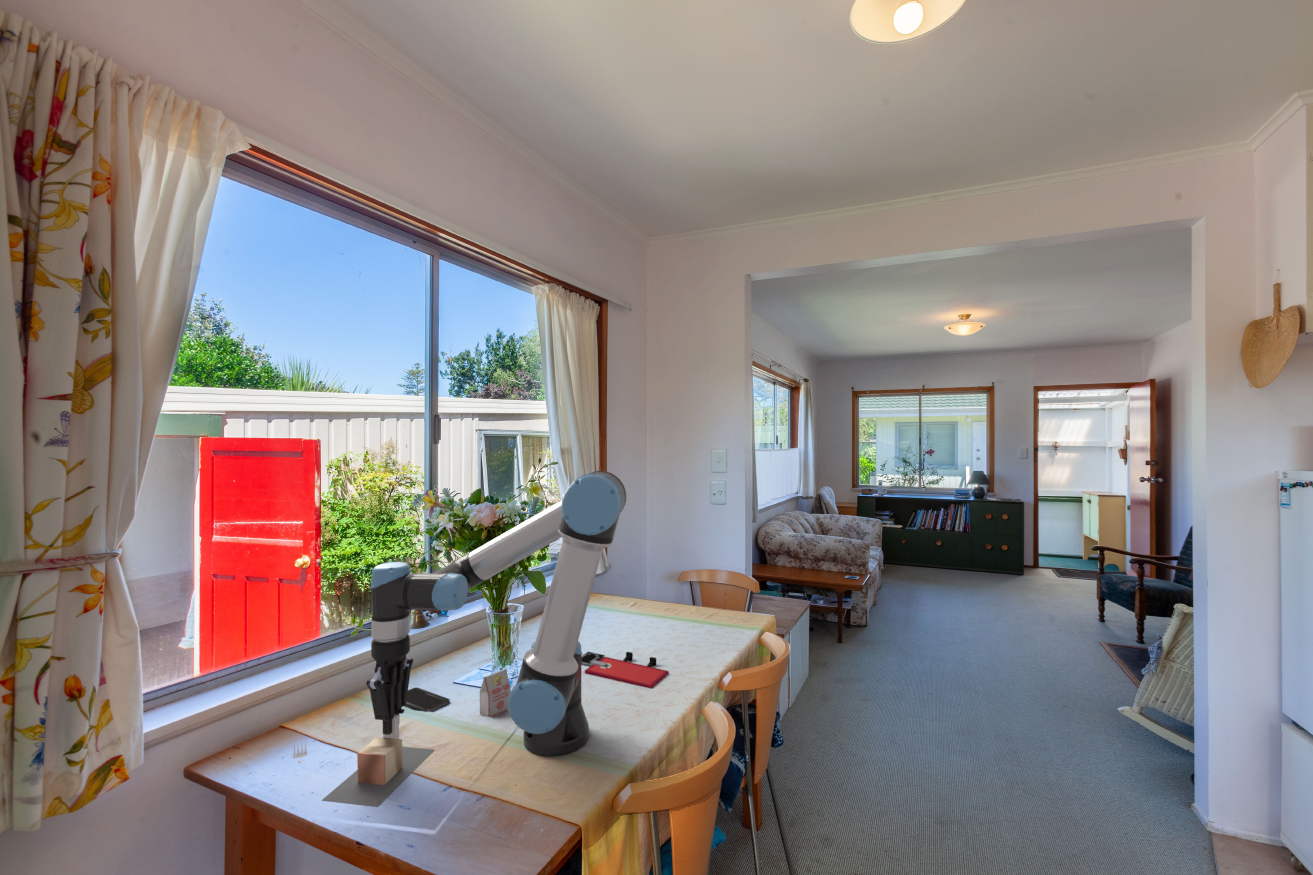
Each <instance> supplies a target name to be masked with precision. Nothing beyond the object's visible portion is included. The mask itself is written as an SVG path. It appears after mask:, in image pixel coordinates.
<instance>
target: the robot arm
mask: <svg viewBox="0 0 1313 875" xmlns="http://www.w3.org/2000/svg"><path fill="white" fill-rule="evenodd" d="M626 502H627V491H626V488H625V485H624V483H623V481H622V480H621V479H620V478H619V477H618V476H617V475H616V474H614V473H611V472H610V471H605V470H596V471H592V472H590V473H586V474H585V473H584V474H582V475H580V476H579V477H577V478H575V479H574V480H573V481H571V483H570V484H569V485H568V486H567V488H566V490H565V491H564V493H563V494H562V497H561V500H559V501H557V502H556V503H553V504H552V505H550V506H548V507H547V508H545V509H543V510H542V511H539V512H538V513H536V514H535V515H532V516H530V517H529V518H528V519H526V520H524V521H522V522H521V523H518V524H517V525H515V526H513V527H512V528H510V529H509V530H507V531H505V532H503V533H502V534H499V535H498V536H496V537H494V538H493V539H491V540H490V541H488V542H485V543H484V544H483V545H481V546H479V547H477V548H475V549H474V550H471V551H470V552H469V553H467V554H465V555H463V556H462V557H460V558H457V559H455V560H454V561H451V563H449V564H448V565H446V566H444V567H442V568H441V569H439V570H437V571H435V572H433V573H414V572H411V567H410V564H408V563H407V562H403V561H390V562H384V563H380V564H378V565H376V566H374V568H373V569H372V570H371V579H370V580H371V581H370V586H369V589H370V595H371V596H370V598H371V599H370V604H371V606H370V607H371V615H370V616H371V631H370V632H371V633H370V634H371V638H372V640H371V641H370V645H371V646H370V649H371V650H370V655H371V658H372V659H373V660H374V661H375V667H374V673H375V674H374V676H372V678H371V679H367V681H366V683H365V684H366V687H367V688H368V690H369V692H370V699H371V705H372V711H373V715H374V719H375V720H378V721H382V735H383V736H382V738H391V739H400V714H404V713H405V709H404V708H403V707H405V705H406V702H407V694H408V690H409V684H410V677H411V669H412V666H413V663H414V658H410V657H407V655H408V654H409V653H410V650H411V636H410V632H411V616H410V615H411V613H410V612H411V611H410V610H412V611H413V610H415V611H416V610H420V611H440V612H441V611H442V612H447V611H455V610H456V611H457V610H459V609H461V608H463V607H464V605H465V602H466V601H467V599H468V598H467V597H468V592H469V591H470V590H471V589H473V588H475V587H477V586H478V585H480V584H483V582H485V581H487V580H488V579H491V578H492V577H494V576H495V575H497V574H499V573H501V572H503V571H504V570H506V569H508V568H509V567H512V566H513V565H515V564H517V563H518V562H520V561H522V560H524V559H526V558H527V557H529V556H530V555H532V554H535V553H536V552H538V551H539V550H542V549H543V548H545V547H547V546H549V545H550V544H552V543H554V542H556V541H557V540H559V539H560V538H561V539H562V542H561V547H560V549H559V554H558V557H557V561H556V565H555V568H554V572H553V575H552V580H551V584H550V586H549V591H548V593H547V594H548V595H547V598H546V601H545V604H544V608H543V613H542V615H541V620H540V624H539V627H538V630H537V631H538V632H537V635H536V639H535V641H534V642H533V643H532V644H531V647H530V648H531V649H529V650H527V651H526V652H525V653H524V656H523V657H522V658H523V660H522V663H521V666H520V670H519V674H518V676H517V677H518V678H517V680H516V683H515V685H514V686H513V688H512V689H511V692H510V696H509V700H508V710H507V711H508V713H509V716H510V718H511V720H512V721H513V722H514V724H515V725H516V726H517V728H519V729H521V730H522V731H523V745H524V747H525V748H526V749H527V750H528V751H529V752H531V753H533V754H536V755H540V756H546V757H548V756H549V757H550V756H552V757H553V756H562V755H566V754H570V753H573V752H575V751H578V750H579V749H581V748H582V747H583V746H585V744H586V743H587V742H588V740H589V738H590V726H589V722H588V719H587V716H586V713H585V710H584V706H583V704H582V663H581V656H582V655H583V652H582V644H581V642H580V641H579V639H580V634H581V632H582V629H583V628H582V627H583V624H584V620H585V616H586V612H587V608H588V605H589V601H590V598H591V594H592V590H593V586H594V584H595V579H596V575H597V571H598V568H599V564H600V561H601V557H602V553H603V550H604V549H606V548H608V547H609V546H611V545H612V544H613V540H614V536H615V534H616V529H617V525H618V522H619V518H620V516H621V513H622V512H623V510H624V508H625V505H626ZM401 699H402V700H401Z"/></svg>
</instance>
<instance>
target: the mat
mask: <svg viewBox="0 0 1313 875" xmlns="http://www.w3.org/2000/svg"><path fill="white" fill-rule="evenodd" d="M434 752H435V749H433V748H432V749H431V748H421V747H413V746H403V745H402V763H403V767H402V768H401V769H400V770H399V771H398V772H397V773H396V774H395V775H394V776H393V777H392V778H391V779H390V780H389V781H388V782H387V783H386V784H385V785H378V784H370V783H361V782H358V769H357V770H356V771H354V772H353V773H351V775H349V776H348V777H347V778H346V779H345V780H343V782H341V783H340V784H339V785H338V786H336V787H335V788H334V789H333V790H332V791H331V792H329V793H328V794H327V795H326V796H325V797H324V798H323V799H321V802H322V801H323V802H331V803H340V804H341V803H342V804H348V805H349V804H350V805H358V806H365V807H375V808H378V807H380V805H381V804H383V803H384V802H385V801H386V799H388V797H389V796H391V794H393V793H394V791H396V789H398V788H399V787H400V786H401V785H402V783H403V782H405V780H407V779H408V778H409V777H410V775H412V773H414V771H416V770H417V769H418V768H419V767H420V766H421V765H422V764H423V763H424V762H425V761H426V760H427V759H428V757H429V756H430V755H432V754H433V753H434Z"/></svg>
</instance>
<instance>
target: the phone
mask: <svg viewBox="0 0 1313 875" xmlns="http://www.w3.org/2000/svg"><path fill="white" fill-rule="evenodd" d="M401 700H402V699H401ZM450 703H451V700H450V699H449V698H448V697H445V696H443V695H439V694H436V693H434V692H431V691H429V690H426V689H423V688H420V687H412V688H410V689H408V694H407V702H406V705H405V706H404V707H406V708H408V709H411V710H412V711H415V712H417V711H418V712H424V713H425V712H427V713H433V712H436V711H437V710H440V709H442V708H443V707H445V706H449V705H450Z"/></svg>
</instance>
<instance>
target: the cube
mask: <svg viewBox="0 0 1313 875" xmlns="http://www.w3.org/2000/svg"><path fill="white" fill-rule="evenodd" d="M402 746H403V739H402V738H401V739H400V738H399V739H391V738H383V736H381V737H380V736H379V737H378V736H376V737H375V738H374V739H372V740H371V741H370V742H369V743H368V744H366V745H365V746H364V747H363V748H362V749H361V750H360V751H357V753H356V754H357V763H356V764H357V770H358V782H361V783H370V784H378V785H385V784H386V783H387V782H388V781H389V780H390V779H391V778H392V777H393V776H394V775H395V774H396V773H397V772H398V771H399V770H400V769H401V768H402V767H403V763H402Z"/></svg>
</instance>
